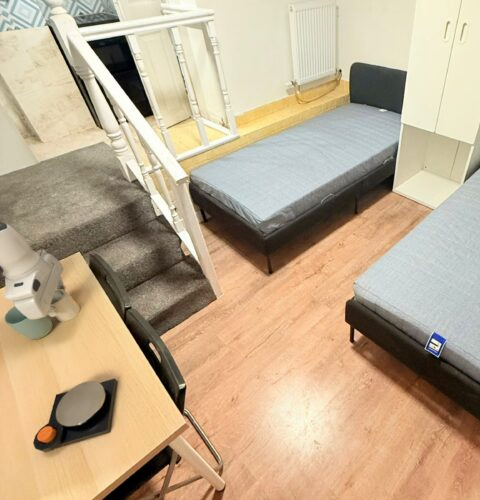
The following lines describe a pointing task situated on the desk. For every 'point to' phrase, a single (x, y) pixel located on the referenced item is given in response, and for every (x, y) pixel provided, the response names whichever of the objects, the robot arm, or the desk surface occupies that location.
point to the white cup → (64, 305)
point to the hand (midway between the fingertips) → (59, 301)
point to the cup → (28, 324)
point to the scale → (85, 431)
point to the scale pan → (80, 404)
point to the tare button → (46, 434)
